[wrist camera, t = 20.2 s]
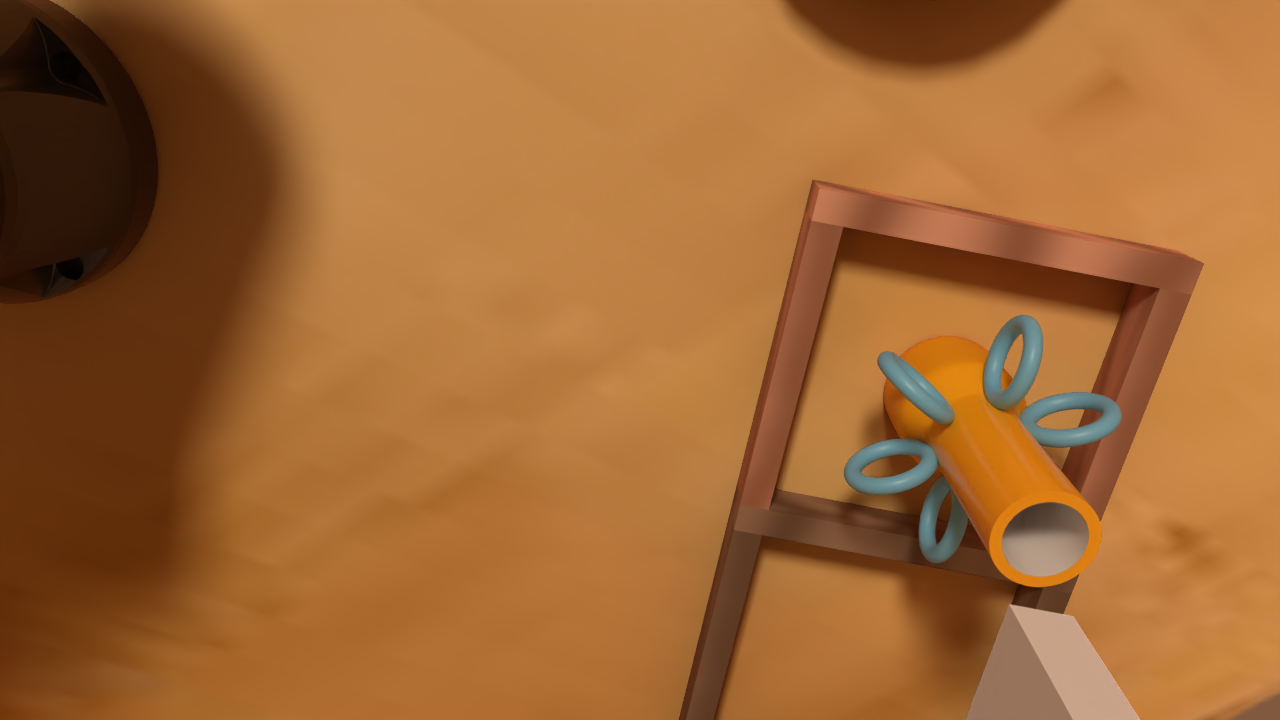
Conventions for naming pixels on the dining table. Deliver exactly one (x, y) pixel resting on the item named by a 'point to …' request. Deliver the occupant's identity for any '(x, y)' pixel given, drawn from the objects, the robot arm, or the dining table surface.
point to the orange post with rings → (988, 454)
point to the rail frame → (895, 536)
